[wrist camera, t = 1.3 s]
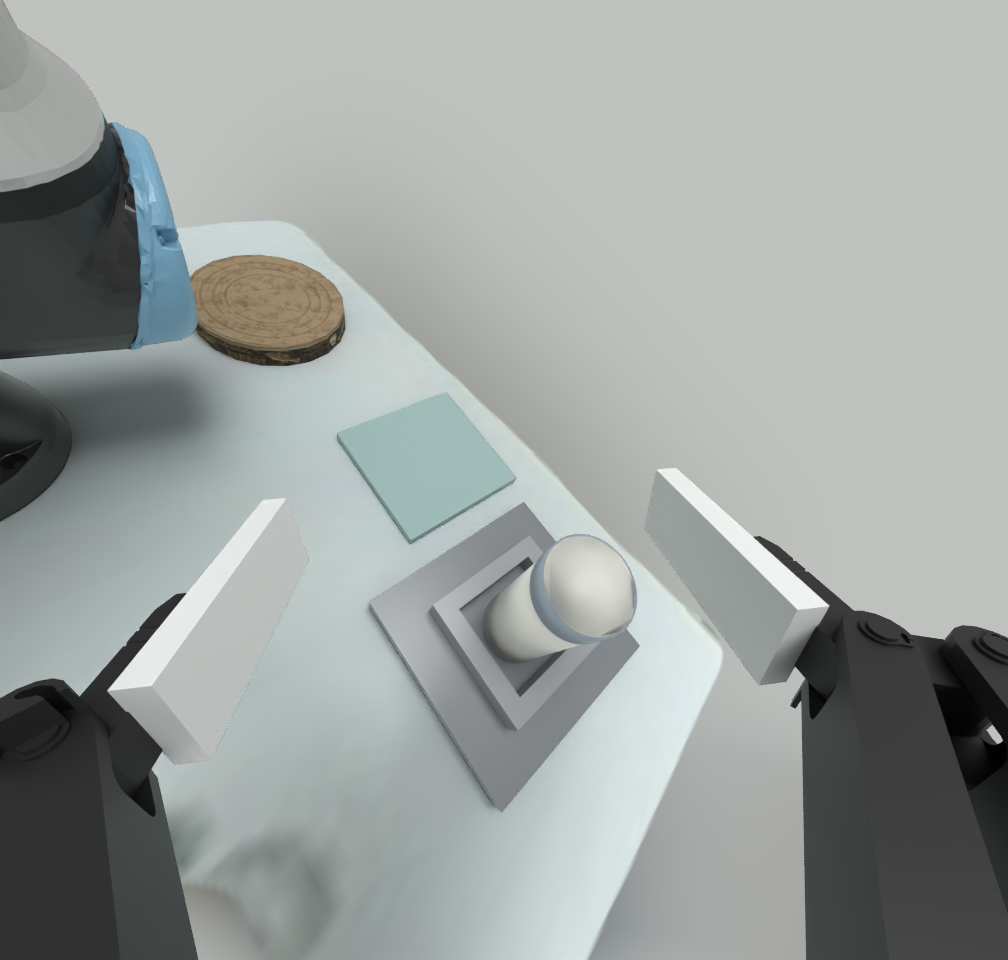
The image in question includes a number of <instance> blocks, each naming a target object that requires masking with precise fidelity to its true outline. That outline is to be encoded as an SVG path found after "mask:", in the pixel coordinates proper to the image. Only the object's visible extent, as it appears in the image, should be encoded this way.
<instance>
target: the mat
mask: <svg viewBox="0 0 1008 960" xmlns="http://www.w3.org/2000/svg"><path fill="white" fill-rule="evenodd" d="M337 439H338V440H339V442H340V443H341V445H342V446H343V448H344V449H345V451H346V452H347V453H348V455H349V456H350V458H351V459H352V461H353V462H354V464H355V465H356V466H357V468H358V469H359V471H360V472H361V474H362V475H363V477H364V478H365V479H366V481H367V482H368V484H369V485H370V487H371V488H372V490H373V491H374V492H375V494H376V495H377V497H378V498H379V500H380V501H381V503H382V504H383V506H384V507H385V508H386V510H387V511H388V513H389V514H390V516H391V517H392V519H393V520H394V521H395V523H396V524H397V526H398V527H399V529H400V530H401V532H402V533H403V534H404V536H405V537H406V539H407V540H408V542H409V543H410V544H411V543H412V542H414V541H416V540H418V539H419V538H421V537H423V536H424V535H426V534H428V533H429V532H431V531H433V530H434V529H436V528H438V527H439V526H441V525H443V524H444V523H446V522H448V521H449V520H451V519H453V518H454V517H456V516H458V515H459V514H461V513H463V512H464V511H466V510H468V509H469V508H471V507H473V506H474V505H476V504H478V503H479V502H481V501H483V500H485V499H486V498H488V497H490V496H491V495H493V494H495V493H496V492H498V491H500V490H501V489H503V488H505V487H506V486H508V485H510V484H511V483H513V482H514V481H515V480H516V478H517V477H516V476H515V475H514V474H513V472H512V471H511V470H510V469H509V467H508V466H507V465H506V464H505V463H504V461H503V460H502V459H501V458H500V456H499V455H498V454H497V453H496V452H495V450H494V449H493V448H492V447H491V445H490V444H489V443H488V442H487V441H486V439H485V438H484V437H483V436H482V434H481V433H480V432H479V431H478V430H477V428H476V427H475V426H474V425H473V423H472V422H471V421H470V420H469V419H468V417H467V416H466V415H465V414H464V412H463V411H462V410H461V409H460V408H459V406H458V405H457V404H456V403H455V401H454V400H453V399H452V398H451V396H450V395H449V394H448V393H447V392H445V393H442V394H440V395H437V396H434V397H432V398H429V399H426V400H424V401H421V402H418V403H416V404H413V405H410V406H408V407H405V408H402V409H400V410H397V411H394V412H392V413H389V414H386V415H384V416H381V417H378V418H376V419H373V420H370V421H368V422H365V423H362V424H359V425H357V426H354V427H351V428H349V429H346V430H343V431H341V432H338V433H337Z"/></svg>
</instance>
